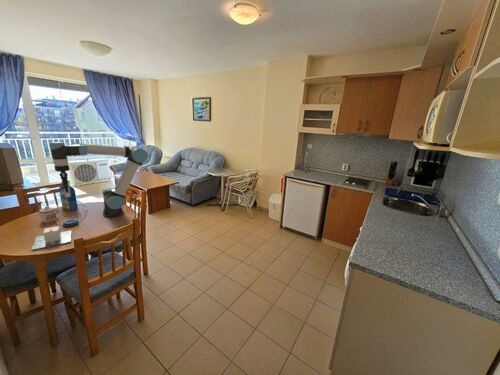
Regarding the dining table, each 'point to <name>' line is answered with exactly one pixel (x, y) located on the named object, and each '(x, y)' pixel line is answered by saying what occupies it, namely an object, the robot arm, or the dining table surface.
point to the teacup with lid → (48, 214)
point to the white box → (52, 234)
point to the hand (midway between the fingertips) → (67, 194)
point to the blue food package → (68, 199)
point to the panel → (41, 243)
